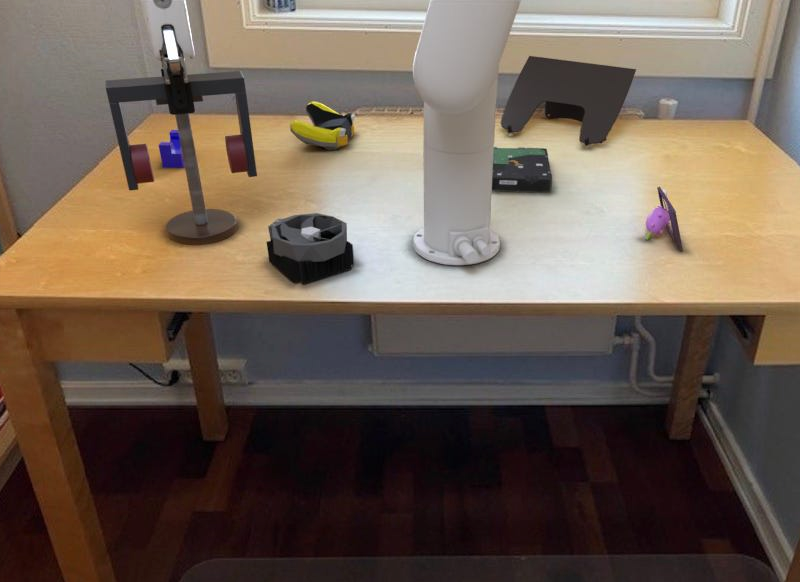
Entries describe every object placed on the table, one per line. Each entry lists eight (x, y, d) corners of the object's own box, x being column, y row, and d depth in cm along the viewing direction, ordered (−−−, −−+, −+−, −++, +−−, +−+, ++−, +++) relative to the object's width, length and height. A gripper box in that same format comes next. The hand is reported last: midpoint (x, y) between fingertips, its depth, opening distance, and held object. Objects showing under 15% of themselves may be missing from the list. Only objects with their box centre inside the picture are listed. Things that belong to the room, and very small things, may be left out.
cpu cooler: (360, 231, 104) (291, 251, 99) (362, 269, 107) (296, 290, 102) (322, 205, 111) (256, 222, 106) (326, 241, 114) (261, 260, 109)
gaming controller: (289, 152, 144) (342, 155, 143) (286, 123, 141) (340, 126, 140) (310, 126, 156) (359, 129, 156) (307, 99, 153) (358, 101, 152)
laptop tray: (495, 158, 160) (490, 124, 153) (531, 82, 170) (528, 46, 163) (605, 176, 153) (605, 142, 146) (635, 96, 163) (637, 60, 156)
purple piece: (680, 209, 110) (664, 184, 118) (644, 220, 111) (630, 195, 118) (688, 249, 114) (671, 223, 121) (652, 260, 115) (638, 233, 122)
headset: (258, 178, 112) (245, 79, 105) (129, 193, 107) (105, 89, 99) (252, 165, 116) (239, 69, 109) (128, 179, 111) (105, 78, 103)
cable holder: (183, 167, 137) (179, 145, 134) (162, 167, 136) (158, 145, 134) (195, 151, 143) (191, 130, 141) (175, 151, 143) (171, 129, 141)
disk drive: (552, 194, 131) (545, 161, 143) (553, 178, 129) (546, 146, 141) (490, 193, 131) (489, 160, 143) (491, 177, 129) (489, 145, 141)
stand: (241, 239, 114) (221, 101, 103) (169, 249, 111) (140, 108, 100) (232, 212, 122) (212, 81, 110) (165, 220, 119) (137, 86, 107)
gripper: (192, -32, 90) (216, 122, 100) (180, -52, 104) (202, 86, 114) (123, -29, 88) (154, 128, 98) (120, -50, 101) (148, 90, 111)
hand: (180, 104), depth 106 cm, fingers open, 6 cm apart
